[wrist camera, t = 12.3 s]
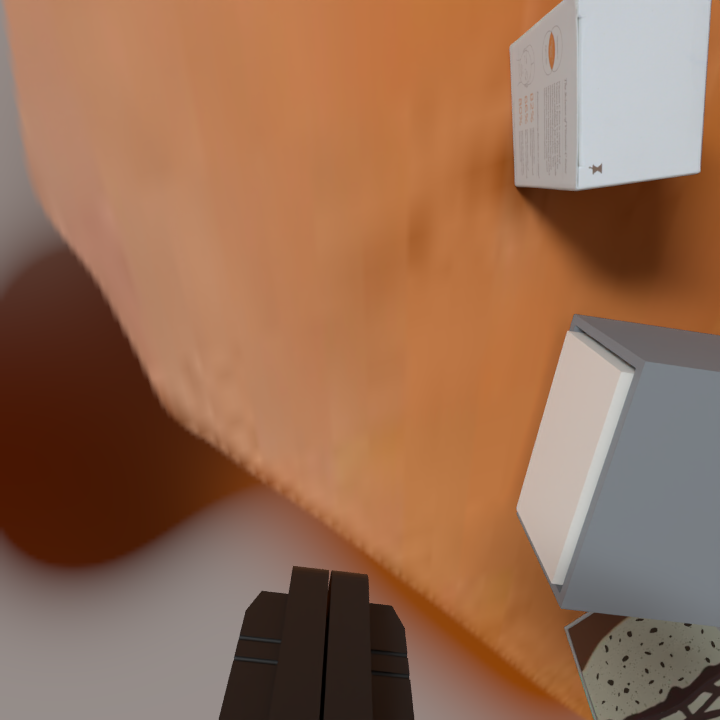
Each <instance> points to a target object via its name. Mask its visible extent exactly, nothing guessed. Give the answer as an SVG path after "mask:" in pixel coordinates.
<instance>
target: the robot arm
mask: <svg viewBox="0 0 720 720" xmlns="http://www.w3.org/2000/svg"><path fill="white" fill-rule="evenodd" d="M328 579H329V570H324V569H315V568H306V567H298V566H293V570H292V576H291V583H290V588H289V594H283V593H275V592H267V591H262V592H261V593H260V594H259V595H258V596H257V598H256V599H255V600H254V601H253V603H252V604H251V605H250V606H249V607H248V609H247V610H246V612H245V616H244V620H243V624H242V628H241V632H240V637H239V640H238V644H237V648H236V652H235V657H234V661H233V664H232V668H231V672H230V676H229V680H228V684H227V688H226V692H225V696H224V700H223V704H222V708H221V712H220V716H219V720H414V712H413V703H412V693H411V684H410V680H409V665H408V658H407V646H406V637H405V628H404V626H403V625H402V623H401V621H400V619H399V618H398V616H397V614H396V612H395V610H394V609H393V607H392V606H389V605H381V604H373V603H369V583H368V575H367V574H359V573H349V572H342V571H333V570H332V571H331V576H330V581H329V587H328Z"/></svg>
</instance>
